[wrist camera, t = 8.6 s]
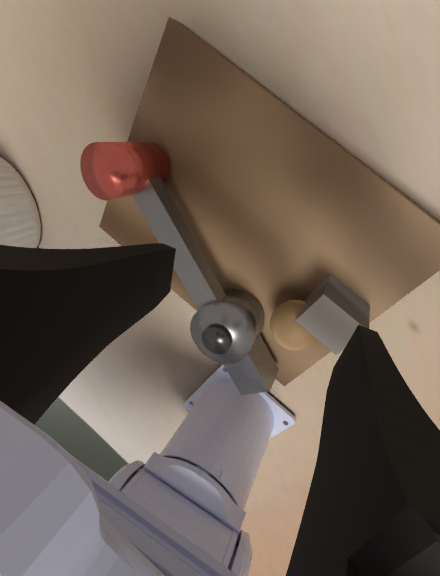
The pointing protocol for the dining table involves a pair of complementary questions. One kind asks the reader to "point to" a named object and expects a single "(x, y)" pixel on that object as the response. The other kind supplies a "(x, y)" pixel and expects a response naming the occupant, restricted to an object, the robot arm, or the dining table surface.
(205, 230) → the board
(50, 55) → the dining table surface
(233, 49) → the dining table surface
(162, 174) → the lever
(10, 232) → the ramekin
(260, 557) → the dining table surface
